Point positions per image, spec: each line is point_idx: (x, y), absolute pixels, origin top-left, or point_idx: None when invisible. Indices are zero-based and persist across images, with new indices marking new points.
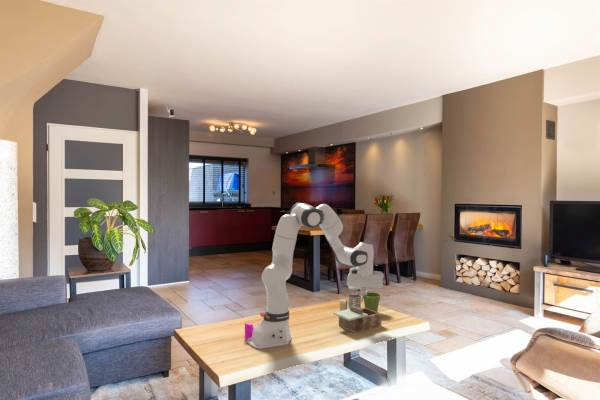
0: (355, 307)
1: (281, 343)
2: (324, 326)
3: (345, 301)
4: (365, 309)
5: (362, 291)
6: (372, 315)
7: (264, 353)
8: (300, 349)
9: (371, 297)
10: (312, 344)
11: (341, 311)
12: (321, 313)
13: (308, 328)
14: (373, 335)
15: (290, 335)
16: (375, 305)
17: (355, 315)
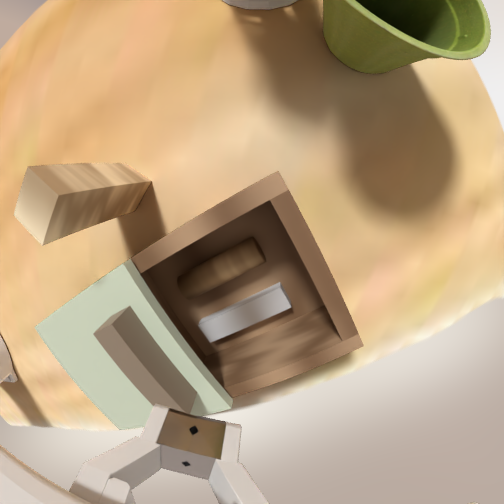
0: (135, 375)
1: (8, 381)
2: (50, 272)
3: (49, 235)
4: (274, 207)
5: (152, 473)
6: (276, 382)
7: (8, 395)
8: (47, 410)
9: (402, 37)
10: (58, 400)
11: (64, 321)
12: (55, 74)
13: (14, 284)
14: (250, 405)
15: (3, 359)
16: (406, 63)
17: (148, 406)
